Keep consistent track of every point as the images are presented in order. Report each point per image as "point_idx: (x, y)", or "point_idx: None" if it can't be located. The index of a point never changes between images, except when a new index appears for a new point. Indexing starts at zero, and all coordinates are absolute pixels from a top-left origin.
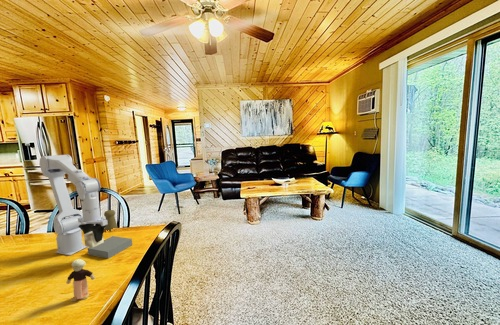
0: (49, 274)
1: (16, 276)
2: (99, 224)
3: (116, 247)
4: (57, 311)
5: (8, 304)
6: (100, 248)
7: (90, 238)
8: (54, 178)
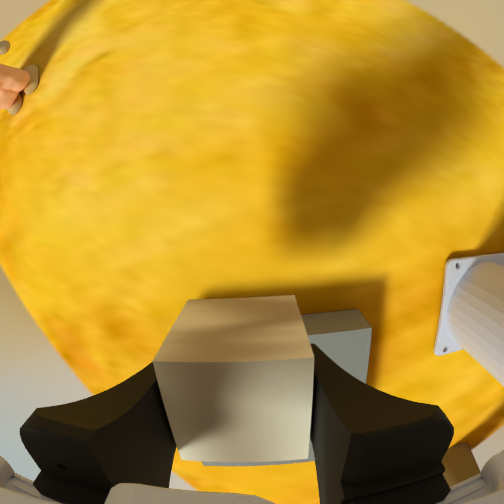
0: (349, 96)
1: (466, 63)
2: (35, 486)
3: None
4: (37, 30)
5: None
6: None
7: (188, 341)
8: None
